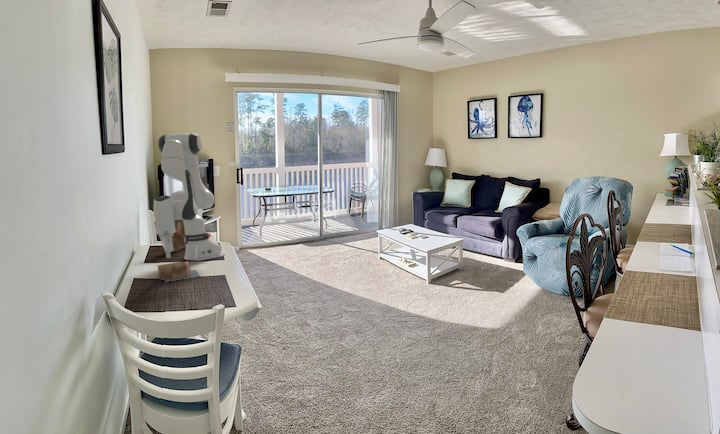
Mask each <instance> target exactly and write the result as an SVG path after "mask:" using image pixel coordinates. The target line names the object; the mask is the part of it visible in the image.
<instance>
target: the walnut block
mask: <svg viewBox="0 0 720 434" xmlns="http://www.w3.org/2000/svg"><path fill="white" fill-rule="evenodd" d="M190 267H191V266H190V263H189V260H186V261H181V262H180V261H179V262H173V263H167V264H166V263H165V264H159V265H157V271H158V279H159V281H165V279H171V278H178V277H184V276H190V270H191V268H190Z"/></svg>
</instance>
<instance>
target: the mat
mask: <svg viewBox="0 0 720 434" xmlns="http://www.w3.org/2000/svg"><path fill="white" fill-rule="evenodd" d="M200 277H201V275H200V273H199V272H198V270H197V269H190V276H184V277H178V278H171V279H165V280H164V283H169V281H171V282H176V280H178V281H182V279H184V280H191V279H198V278H200ZM190 278H191V279H190Z"/></svg>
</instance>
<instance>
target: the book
mask: <svg viewBox="0 0 720 434" xmlns="http://www.w3.org/2000/svg"><path fill="white" fill-rule="evenodd" d="M174 222H175V230H176V232H175V233H173V236H172V241H173V251H172V252H171V253H173V252H175V251H177V252H179V251H178V250H180V249H182V250H184V249H183V248H185V249H186V244H185V240H184V234H185V229H184V223H183V220H174ZM180 251H181V250H180ZM175 253H176V252H175Z"/></svg>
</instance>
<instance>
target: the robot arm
mask: <svg viewBox="0 0 720 434" xmlns="http://www.w3.org/2000/svg"><path fill="white" fill-rule="evenodd" d="M157 141H158V149H159V151H160V152H161V158H160V159H161V160H160V167H161V171H162V172H163V175H165V176H167V177H168V178H171V179H173V180H177V181H179V182H181V183H182V185H183V190H182V189H181V190H175V191H173V192H172V193H171V194H170V195H159V196H156V197H155V198H153V217H154V221H155V222H154V226H155V227H154V228H155V234H156V235H158V237H159V238H160V243H161V246H162V247H163V250H164V252H165V257H166V258H167V259H170V258H171V257H172V256H171V253H173V252H172V251H173V241H172V236H173V233H175V232H176V230H175V222H174V220H183V223H184V229H185V234H184V240H185V244H186V248H185V250H184V251H185V252H184V260H186V261H198V262H199V261H205V260H210V259H216V258H217V259H218V258H222V257H225V256H226V252H225V251H223V250H222V248H221V246H220V244H219V243H218V242H217V241H215V240H213V239H212V238H211V237H212V234H211V233H208V232H206V226H205V225H206V223H205V218H203V216H201V215H199V214H198V211H199V210H206V209H210V208H212V207H213V205H214V204H215V196H214V194H213V193H212V192H211V191H210V190H209V189H207V187H206V186H205V185H204V183H203V180H202V178H201V173H200V166H199V160H198V153H199V152H200V151H201V149H202V143H203V142H202V140H201V137H200V135H199V134H197V133H193V132H191V133H190V132H189V133H185V132H184V133H183V132H181V133H171V134H164V135H160V137H159V138H158V140H157Z"/></svg>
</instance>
